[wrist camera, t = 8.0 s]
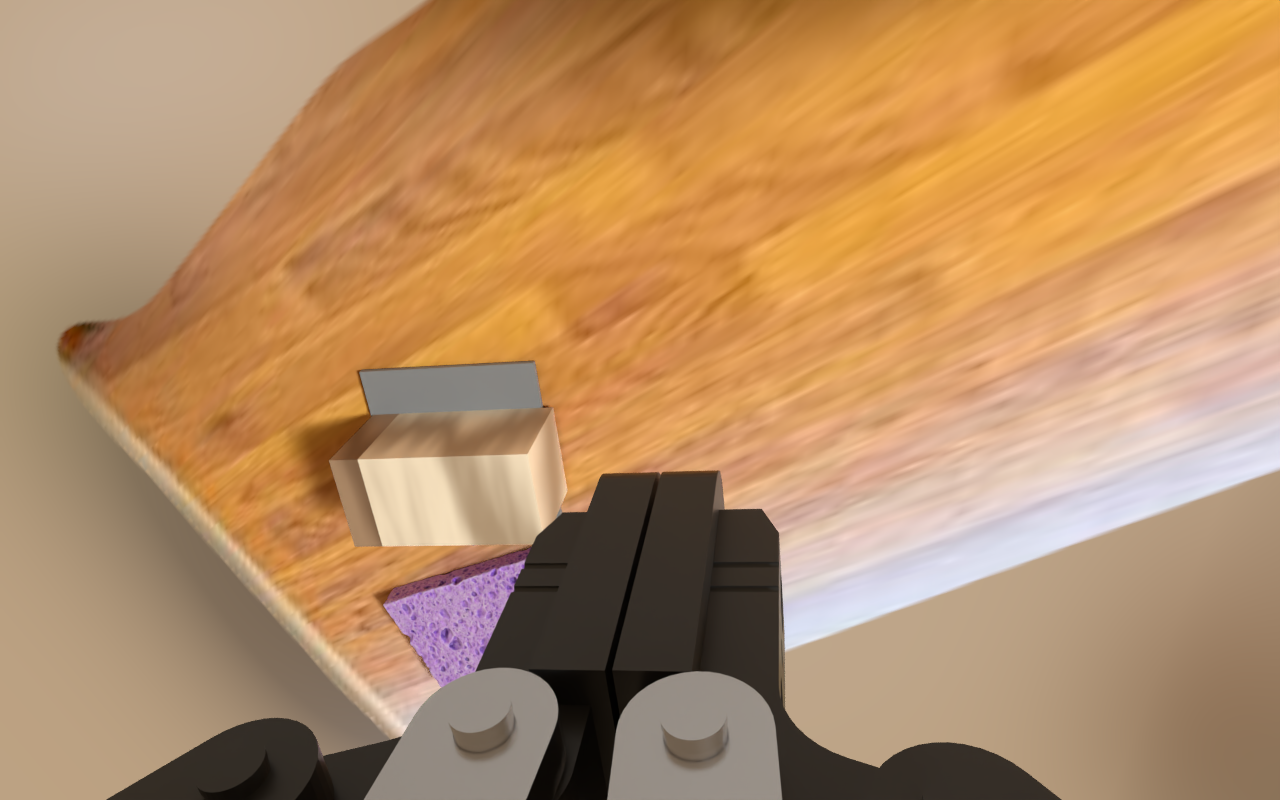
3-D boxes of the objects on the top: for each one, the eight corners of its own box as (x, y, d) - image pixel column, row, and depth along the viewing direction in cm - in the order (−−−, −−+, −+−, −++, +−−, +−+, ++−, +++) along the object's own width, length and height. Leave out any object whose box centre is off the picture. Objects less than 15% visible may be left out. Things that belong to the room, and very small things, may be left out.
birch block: (527, 454, 38) (328, 460, 40) (544, 544, 40) (354, 546, 42) (553, 407, 43) (373, 414, 45) (567, 490, 45) (395, 494, 47)
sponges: (394, 584, 51) (381, 604, 49) (576, 527, 47) (569, 547, 45) (450, 669, 53) (440, 691, 51) (627, 621, 49) (622, 643, 48)
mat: (534, 360, 42) (533, 363, 42) (564, 526, 46) (563, 529, 46) (361, 369, 44) (359, 371, 44) (405, 529, 48) (402, 532, 48)
